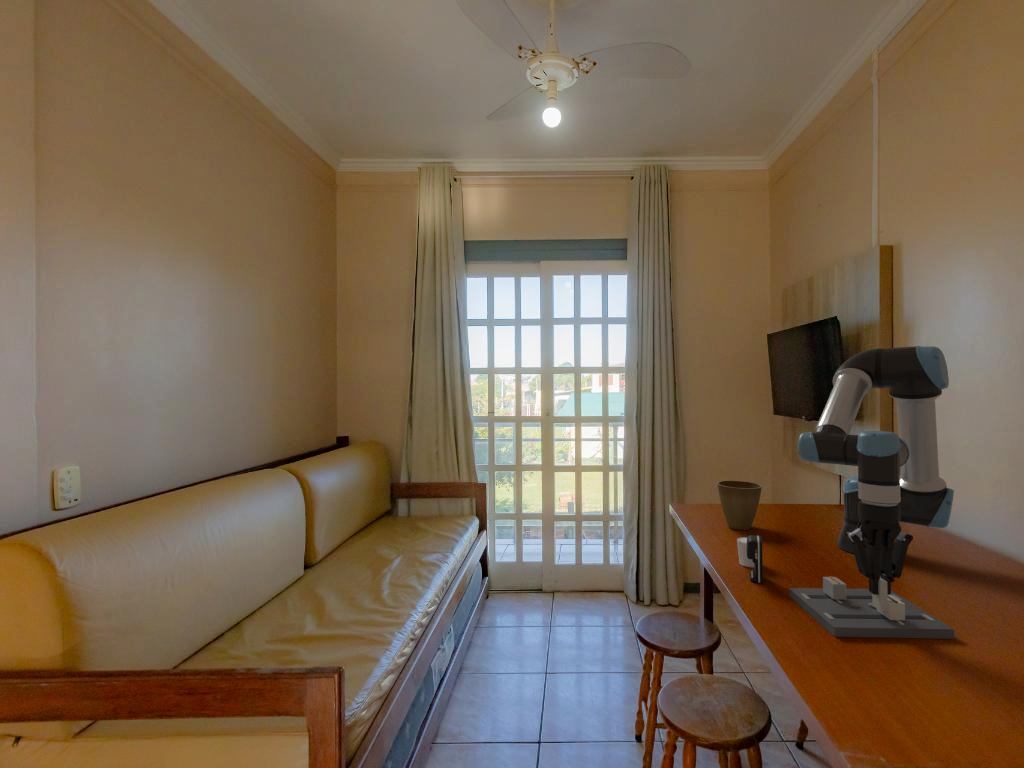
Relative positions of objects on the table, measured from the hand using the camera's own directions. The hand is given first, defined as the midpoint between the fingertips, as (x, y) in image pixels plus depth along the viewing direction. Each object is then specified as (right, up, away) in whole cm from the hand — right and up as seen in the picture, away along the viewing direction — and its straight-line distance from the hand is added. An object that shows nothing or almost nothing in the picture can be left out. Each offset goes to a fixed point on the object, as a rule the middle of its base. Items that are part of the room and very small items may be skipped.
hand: (879, 608), depth 110 cm
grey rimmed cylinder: (-11, -4, +38) cm, 40 cm away
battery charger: (-14, -4, +27) cm, 31 cm away
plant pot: (+3, -4, +74) cm, 74 cm away
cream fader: (+2, -1, 0) cm, 3 cm away
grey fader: (-3, -2, +10) cm, 11 cm away
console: (0, -4, +5) cm, 6 cm away
